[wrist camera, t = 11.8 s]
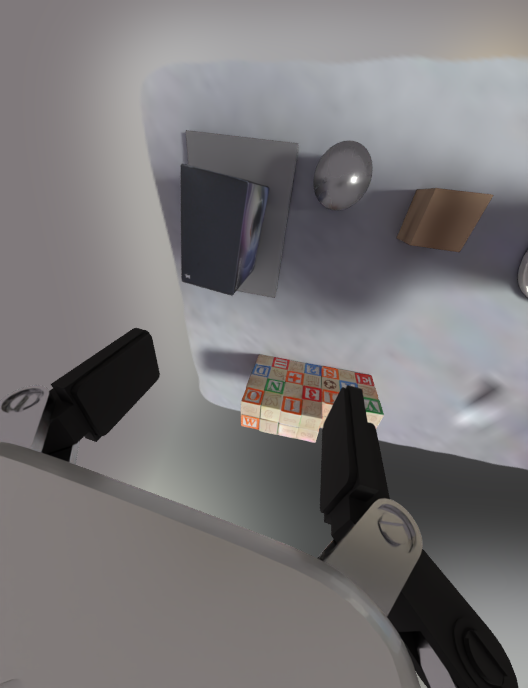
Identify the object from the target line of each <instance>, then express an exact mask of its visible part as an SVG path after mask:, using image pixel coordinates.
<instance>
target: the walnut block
mask: <svg viewBox="0 0 528 688" xmlns="http://www.w3.org/2000/svg"><path fill="white" fill-rule="evenodd" d="M492 197H493V195H491V194H482V193H473V192H465V191H456V190H448V189H439V188H431V189H419V190H416V193H415V195H414V197H413V200H412V202H411V205H410V207H409V209H408V212H407V214H406V217H405V219H404V221H403V224H402V226H401V229H400V231H399V233H398V236H397V239H399V240H401V241H403V242H405V243H407V244H409V245H413V246H420V247H427V248H433V249H440V250H447V251H454V252H460V251H461V249H462V248H463V246H464V244H465V242H466V241H467V239H468V237H469V236H470V234H471V232H472V231H473V229H474V227H475V226H476V224H477V222H478V221H479V219H480V217H481V215H482V214H483V212H484V210H485V209H486V207H487V205H488V204H489V202H490V200H491V199H492Z"/></svg>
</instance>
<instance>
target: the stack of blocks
mask: <svg viewBox="0 0 528 688" xmlns="http://www.w3.org/2000/svg"><path fill="white" fill-rule="evenodd" d="M348 385H350V386H353V387H357V388H361V389H362V391H363V397H364V403H365V409H366V415H367V421H368V422H369V423H372V424H374V426H375V428H377V426H378V424H379V423H380V421H381V419H382V418H383V416H384V413H383V410H382V407H381V403H380V401H379V399H378V395H377V392H376V388H375V386H374V382H373V378H372V376H371V375H366V374H360V373H354V372H352V371H347V370H341V369H336V368H331V367H325V366H318V365H313V364H308V363H302V362H296V361H290V360H287V359H281V358H276V357H271V356H266V355H261V354H259V356H258V359H257V361H256V364H255V366H254V369H253V371H252V374H251V375H250V378H249V380H248V383H247V386H246V390H245V393H244V396H243V398H242V401H241V426H245V427H249V428H253V429H258V430H260V431H262V432H266V433H271V434H278V435H281V436H286V437H291V438H297V439H301V440H305V441H310V442H316V438H317V435H318V432H319V427H321V428H323V424H324V422H325V420H326V418H327V416H328V414H329V412H330V410H331V408H332V406H333V404H334V402H335V400H336V398H337V396H338V394H339V392H340V390H341V388H342V387H344V388H346V387H347V386H348Z"/></svg>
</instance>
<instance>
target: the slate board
mask: <svg viewBox="0 0 528 688" xmlns="http://www.w3.org/2000/svg"><path fill="white" fill-rule="evenodd" d="M186 140H187V155H188V165H190V166H194V167H198V168H202V169H206V170H210V171H213V172H217V173H221V174H225V175H229V176H233V177H237V178H241V179H245V180H248V181H252V182H255V183H258V184H261V185H264V186H268V187H269V194H268V199H267V204H266V210H265V215H264V220H263V225H262V231H261V236H260V241H259V246H258V251H257V256H256V262H255V267H254V270H253V271H252V273H251V274H250V275H249V276H248V277H247V279H246V280H245V281H244V282H243V283H242V285H241V286H240V287H239V288H238V289H237V291H241V292H246V293H251V294H257V295H262V296H267V297H272V298H275V296H276V290H277V283H278V277H279V270H280V264H281V257H282V251H283V244H284V238H285V231H286V225H287V218H288V212H289V205H290V199H291V192H292V186H293V179H294V173H295V166H296V160H297V153H298V147H299V144H298V143H290V142H282V141H273V140H265V139H256V138H247V137H239V136H230V135H222V134H213V133H205V132H196V131H187V130H186Z"/></svg>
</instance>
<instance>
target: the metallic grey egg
mask: <svg viewBox="0 0 528 688" xmlns="http://www.w3.org/2000/svg"><path fill="white" fill-rule="evenodd" d="M371 177H372V160H371V157H370V154H369V152H368V151H367V149H366V148H365V147H364V146H363V145H362V144H360V143H358V142H355V141H343V142H340V143H337V144H335V145H334V146H332V147H331V148H330V149H329V150H327V151H326V153H325V154H324V155H323V156H322V158H321V159H320V161H319V163H318V165H317V167H316V171H315V175H314V190H315V194H316V196H317V198H318V200H319V201H320V203H321V204H322V205H323V206H325V207H326V208H328V209H331V210H343V209H346V208H349V207H350V206H352V205H354V204H355V203H356V202H357V201H359V200H360V198H361V197H362V196H363V195H364V193H365V192H366V190H367V188H368V186H369V184H370V181H371Z"/></svg>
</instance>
